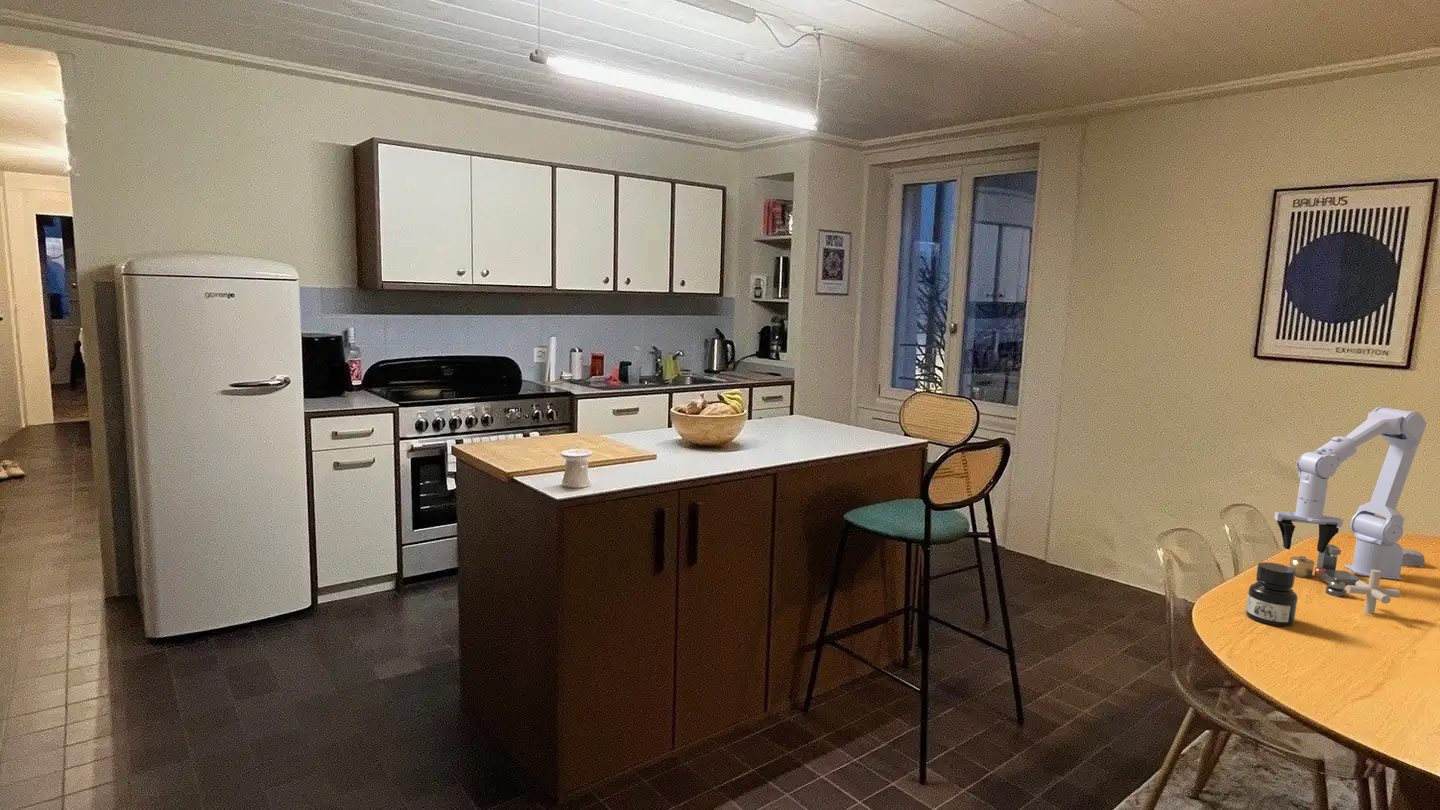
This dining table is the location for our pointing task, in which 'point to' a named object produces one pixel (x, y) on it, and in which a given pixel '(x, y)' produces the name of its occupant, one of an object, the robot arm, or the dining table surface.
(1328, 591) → the lever base
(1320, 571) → the lever
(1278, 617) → the ink bottle
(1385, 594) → the pipe connector
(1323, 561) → the press
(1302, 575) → the housing
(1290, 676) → the dining table surface
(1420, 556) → the stone block
